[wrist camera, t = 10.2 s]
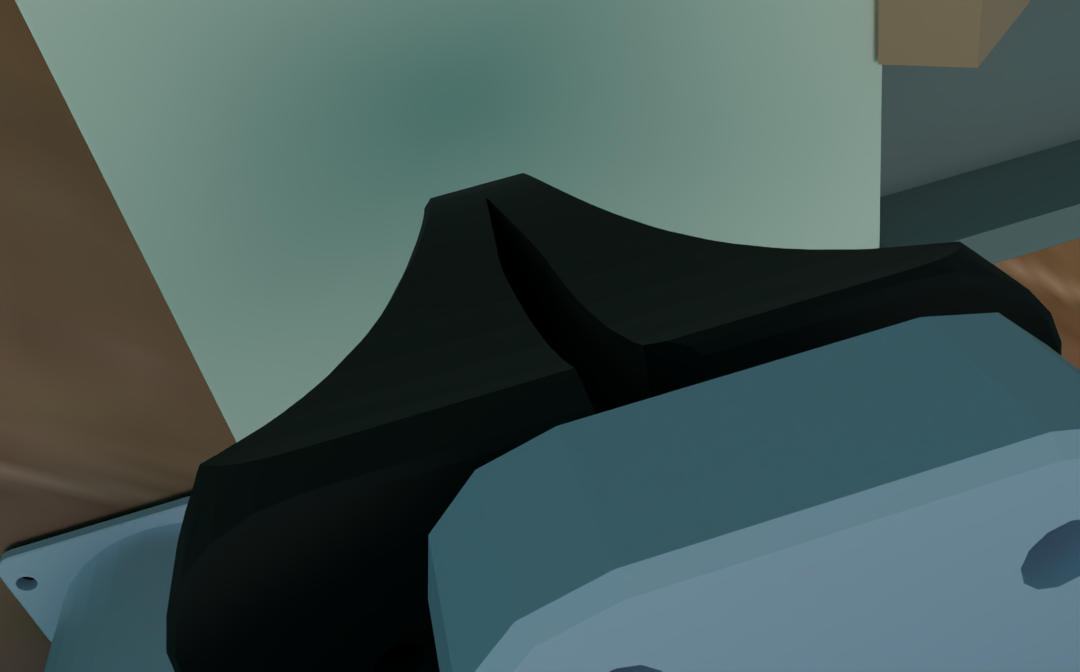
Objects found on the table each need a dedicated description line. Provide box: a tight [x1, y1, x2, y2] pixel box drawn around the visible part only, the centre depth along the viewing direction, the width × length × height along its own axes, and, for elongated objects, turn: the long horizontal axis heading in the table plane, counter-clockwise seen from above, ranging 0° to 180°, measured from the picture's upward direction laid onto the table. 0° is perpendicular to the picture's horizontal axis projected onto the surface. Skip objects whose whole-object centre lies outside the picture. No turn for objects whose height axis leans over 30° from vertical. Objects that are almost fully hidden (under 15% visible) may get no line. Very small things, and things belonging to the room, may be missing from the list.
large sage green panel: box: [15, 0, 882, 442], centre depth 19 cm, size 14×16×3 cm
